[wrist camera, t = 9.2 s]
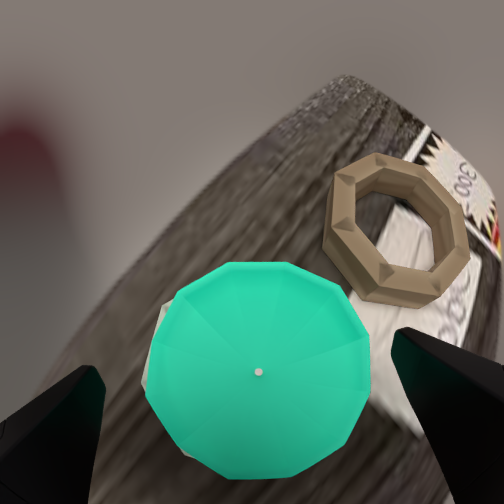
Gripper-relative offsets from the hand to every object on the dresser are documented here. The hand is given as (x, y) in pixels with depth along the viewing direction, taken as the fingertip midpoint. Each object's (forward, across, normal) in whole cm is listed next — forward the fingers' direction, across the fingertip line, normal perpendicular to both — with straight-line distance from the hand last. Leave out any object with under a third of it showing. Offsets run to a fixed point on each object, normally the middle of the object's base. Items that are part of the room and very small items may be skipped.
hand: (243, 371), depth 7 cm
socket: (+12, -12, +1) cm, 17 cm away
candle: (+7, 0, +7) cm, 10 cm away
